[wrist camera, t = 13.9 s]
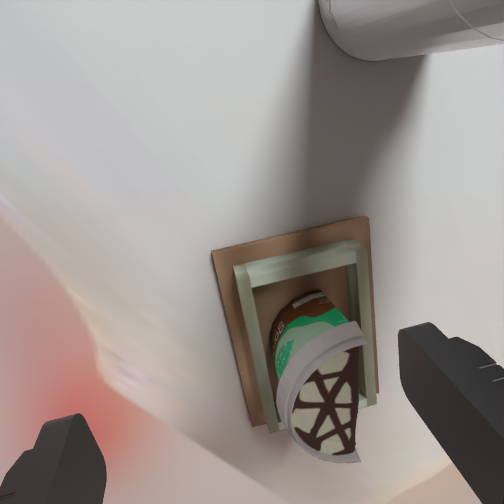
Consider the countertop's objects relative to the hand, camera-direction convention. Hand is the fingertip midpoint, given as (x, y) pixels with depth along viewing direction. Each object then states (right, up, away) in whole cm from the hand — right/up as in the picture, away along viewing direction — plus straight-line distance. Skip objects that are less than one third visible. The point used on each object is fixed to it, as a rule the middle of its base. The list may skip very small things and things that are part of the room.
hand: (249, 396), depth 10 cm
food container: (+4, -4, +28) cm, 29 cm away
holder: (+5, -4, +29) cm, 30 cm away
